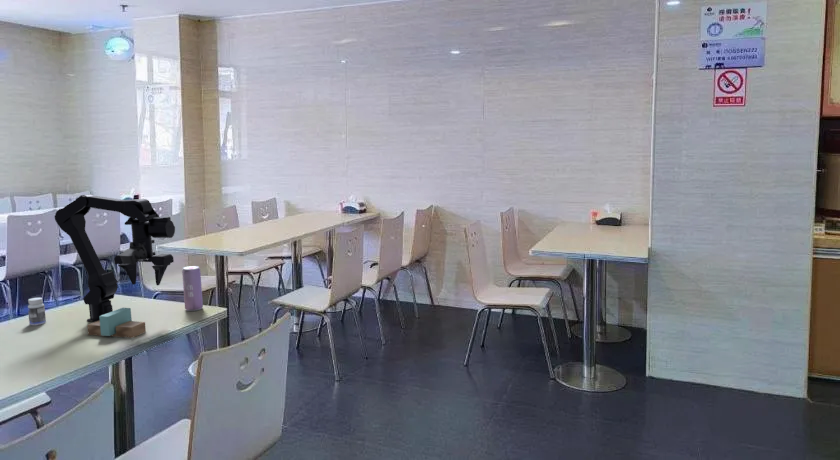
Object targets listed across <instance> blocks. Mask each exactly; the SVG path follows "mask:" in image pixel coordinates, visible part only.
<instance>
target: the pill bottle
mask: <svg viewBox="0 0 840 460" xmlns="http://www.w3.org/2000/svg"><path fill="white" fill-rule="evenodd" d="M27 301H28V305H27V312H28V313H27V314H28V322H29V325H30V326H40V325H44V324H46V323H47V319H46V318H47V317H46V310H45V304H44V301H43V297H32V298H28V300H27Z"/></svg>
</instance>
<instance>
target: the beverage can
mask: <svg viewBox="0 0 840 460" xmlns="http://www.w3.org/2000/svg"><path fill="white" fill-rule="evenodd" d="M181 274H182V284H183V285H182V288H183V299H184V300H183V302H184V309H185V310H186V311H187V312H196V311H200V310H202V309H203V307H204V304H203V303H204V302H203V291H202V290H203V287H202V277H201V276H202V275H201V269H200V266H198V265H188V266H184V267H182V269H181Z"/></svg>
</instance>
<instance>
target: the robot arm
mask: <svg viewBox="0 0 840 460" xmlns="http://www.w3.org/2000/svg"><path fill="white" fill-rule="evenodd" d="M91 209H95V210H105V211H111V212H116V213H120V214H122V215H123V216H126V217H128V219H127V220H126V221H125V222H124V225H125V226H126V225H127V226H128V225H129V226H131V227H130V229H131V238H132V241H130V242H129V248H127V249H125V250H124V251H122V253H121V254H120V253H119V254H117V255H115V256H114V259H113V261H114V262H113V263H114V265H117V266H118V267H119V268H121V269H123V270H124V271H125V273H126V275H127V276H128V278H129V281H130V282H131V284H132V285H136V282H137V273H138V272H137V270H138V269H137V268H138V262H139V263H140V262H141V263H144V262H145V263H152V264H153V265H151V267H152V269H153V270H154V277H155V285H156V286H160V285H161V282H162V280H163V276H164V275H165V272H166V270H167V268H168V266H170V265H171V263H175V261H174V255H172V254H171V253H159V254H156V252H155V251H153V244H155V239H172V238H173V237H174V236H175V234H176V233H175V232H176V226H175V225H174V222H173V221H172V220H171V216H165V217H161V216H160V215H159V214H158V213H157V211H156V210H155V209H154V208H153V206H152V203H151V202H150V200H149V199H147V198H138V199H135V198H134V199H119V198H113V197H107V196H101V195H94V194H91V193H90V194H82V195H80V196H78V197H77V198H76V199H75V200H74V201H72V202H69V203H68V204H67V205H65V206H64V207H63V208H59V209H57V210H56V212H55V215H54V217H53V218H54V220H55V222H56V224H57V226H58V227H59V228H60V229H61V230H62V232H64V233H66V235H68V236H69V237H70V240H71V242H72V245H73V246H74V248H75V250H76V252H77V254H78V256H79V259H80V261H81V263H82V265H83V267H84V269H85V271H86V273H87V276H88V279H87V286H88V290H89V291H88V292H87V293H86V295H85V296H84V297H83V298H82V299H83V302H84V305H88V310H89V311H88V312H89V318H87V319H86V321H87V322H96V321H99V320H100V319H99V316H101V315H104V314H107V313H109V312H112V311H114V310H113V305H112V299H114V297H115V295H116V293H117V291H118V289H119V288H118V287H119V286H118V283H119V281H118V280H117V279H116V276H115V274H114V272H113V271H110V272H109V271H107V270H105V269H104V267H103V265H102V263H101V261H100V260H101V259H99V256H98V255H97V252H96V250H95V248H94V246H93V245H92V242H91V240H90V238H89V235H88V234H87V231H86V217H85V216H86V215H87V214H88V213H89V211H90V210H91ZM152 238H153V239H152Z"/></svg>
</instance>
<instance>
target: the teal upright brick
mask: <svg viewBox="0 0 840 460" xmlns="http://www.w3.org/2000/svg"><path fill="white" fill-rule="evenodd" d="M99 319H100V329H101V335H102V336H101V337H112V336H111V335H113V334H115V333H116V326H118V325H121V324H123V323H126V322H128V321H133V320H132V310H131V308H130V307H120V308H118V309H116V310H115V309H114V310H113V311H112V312H109V313H107V314H104V315H101V316H99Z"/></svg>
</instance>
